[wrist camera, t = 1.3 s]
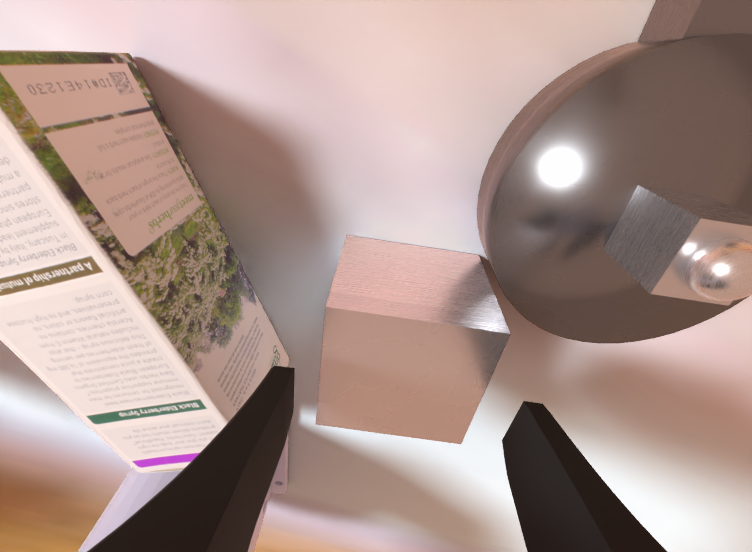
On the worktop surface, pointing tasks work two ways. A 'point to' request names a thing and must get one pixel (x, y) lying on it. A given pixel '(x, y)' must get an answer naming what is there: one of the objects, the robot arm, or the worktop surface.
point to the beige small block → (407, 340)
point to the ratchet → (631, 183)
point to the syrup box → (119, 262)
